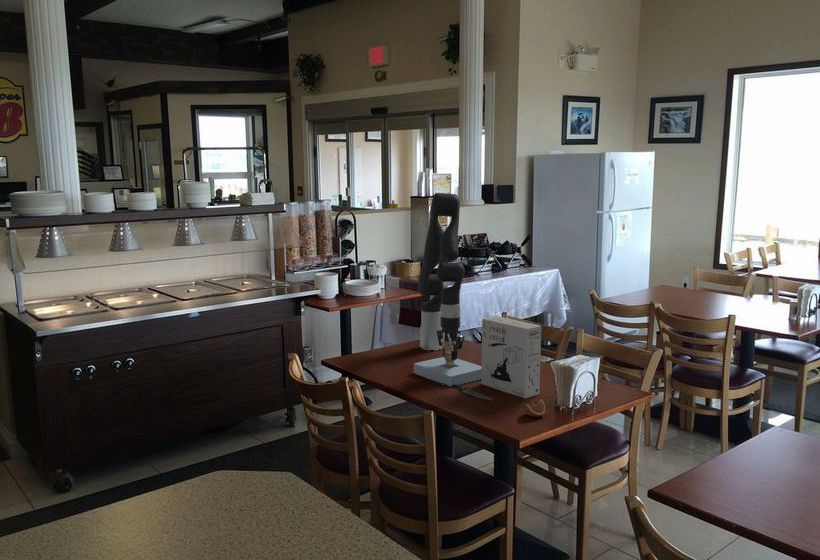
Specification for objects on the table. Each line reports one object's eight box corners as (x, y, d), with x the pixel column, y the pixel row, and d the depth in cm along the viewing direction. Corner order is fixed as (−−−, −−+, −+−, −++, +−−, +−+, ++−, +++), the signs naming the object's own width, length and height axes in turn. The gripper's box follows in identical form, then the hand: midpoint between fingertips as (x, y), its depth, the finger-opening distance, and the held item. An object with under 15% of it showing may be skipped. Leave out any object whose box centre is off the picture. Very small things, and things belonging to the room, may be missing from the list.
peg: (442, 364, 268) (442, 341, 267) (450, 362, 271) (450, 339, 269) (449, 366, 265) (449, 343, 264) (457, 364, 267) (457, 341, 266)
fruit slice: (532, 422, 220) (533, 406, 219) (516, 416, 225) (517, 401, 224) (549, 416, 225) (550, 401, 224) (533, 410, 230) (534, 396, 229)
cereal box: (480, 384, 258) (481, 318, 254) (494, 380, 263) (496, 315, 259) (525, 399, 241) (527, 328, 237) (539, 394, 246) (541, 325, 242)
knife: (487, 404, 237) (498, 401, 240) (487, 401, 237) (498, 398, 240) (439, 385, 258) (449, 382, 261) (439, 382, 258) (450, 380, 261)
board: (413, 373, 272) (413, 363, 271) (448, 365, 283) (448, 355, 282) (451, 387, 255) (451, 376, 254) (486, 378, 266) (486, 367, 265)
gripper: (470, 316, 262) (469, 361, 264) (445, 310, 273) (445, 353, 275) (455, 319, 257) (455, 364, 260) (430, 313, 268) (430, 356, 271)
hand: (450, 358), depth 267 cm, fingers closed on peg, 4 cm apart
